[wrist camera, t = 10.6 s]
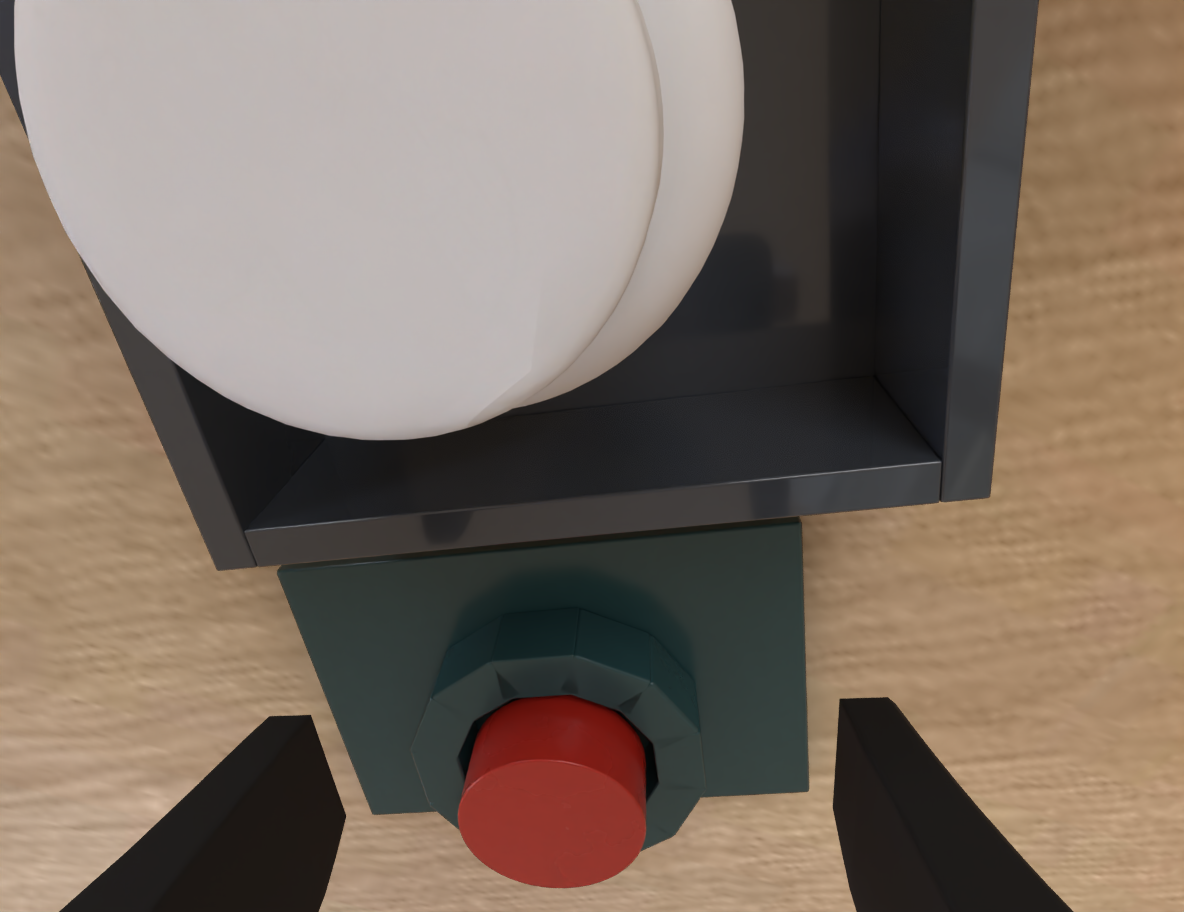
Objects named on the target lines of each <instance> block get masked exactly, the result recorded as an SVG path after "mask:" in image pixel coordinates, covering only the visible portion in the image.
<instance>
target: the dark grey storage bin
mask: <svg viewBox="0 0 1184 912" xmlns="http://www.w3.org/2000/svg"><path fill="white" fill-rule="evenodd" d="M731 1H732V5H733V9H734V12H735V17H736V23H737V29H738V34H739V40H740V46H741V53H742V60H743V73H744V125H743V136H742V145H741V152H740V158H739V165H738V170H737V175H736V180H735V184H734V189H733V193H732V197H731V200H730V203H729V206H728V209H727V212H726V215H725V218H724V221H723V223H722V226H721V228H720V231H719V233H718V236H717V238H716V241H715V243H714V246H713V248H712V250H711V252H710V254H709V256H708V258H707V260H706V261H705V263H704V265H703V267H702V269H701V271H700V273H699V274H698V276H697V277H696V279H695V280H694V282H693V284H692V285H691V287H690V288H689V290H688V291H687V293H686V294H685V296H684V297H683V299H682V300H681V302H680V303H679V305H678V306H677V307H676V309H675V310H674V311H673V312H672V314H671V315H670V316H669V317H668V319H667V320H666V321H665V322H664V324H663V325H662V326H661V327H660V328H659V329H657V330H656V331H655V332H654V333H653V334H652V335H651V336H650V337H649V338H648V339H647V340H646V341H645V342H644V343H642V344H641V345H640V346H639V347H638V348H637V349H636V350H635V351H634V352H633V353H631V354H630V355H629V356H627V357H626V358H625V359H623V360H622V361H621V362H620V363H618V364H617V365H615V366H614V367H612V368H611V369H609V370H608V371H606V372H604V373H603V374H601V375H600V376H598V377H596V378H594V379H592V380H591V381H589V382H587V383H585V384H583V385H581V386H579V387H577V388H575V389H573V390H571V391H569V392H566V393H563V394H561V395H558V396H556V397H553V398H550V399H547V400H544V401H541V402H538V403H534V404H531V405H527V406H522V407H517V408H512V409H511V410H509V411H507V412H505V413H503V414H500V415H498V416H496V417H494V418H492V419H489V420H487V421H485V422H483V423H480V424H478V425H475V426H472V427H469V428H466V429H462V430H458V431H454V432H450V433H446V434H442V435H438V436H432V437H424V438H416V439H407V440H360V439H353V438H346V437H337V436H329V435H325V434H321V433H317V432H313V431H309V430H305V429H301V428H297V427H294V426H290V425H287V424H284V423H282V422H279V421H277V420H274V419H272V418H270V417H267V416H265V415H262V414H260V413H257V412H255V411H252V410H250V409H248V408H246V407H244V406H242V405H240V404H238V403H236V402H234V401H232V400H230V399H228V398H226V397H224V396H223V395H221V394H219V393H218V392H216V391H215V390H213V389H212V388H210V387H209V386H207V385H205V384H204V383H202V382H201V381H199V380H198V379H196V378H195V377H193V376H192V375H191V374H189V373H188V372H187V371H185V370H184V369H183V368H181V367H180V366H179V365H177V364H176V363H175V362H173V361H172V360H171V359H169V358H168V357H167V356H166V355H165V354H164V353H163V352H161V351H160V350H159V349H158V348H157V347H156V346H155V345H154V344H153V343H152V342H150V341H149V340H148V339H147V338H146V337H145V336H144V335H143V334H142V333H140V332H139V331H138V330H137V329H136V328H135V327H134V326H133V324H132V323H131V322H130V321H129V320H128V318H127V317H126V316H125V315H124V314H123V313H122V311H121V310H120V309H119V308H118V307H117V306H116V304H115V303H114V302H113V301H112V300H111V298H110V297H109V296H108V295H107V294H106V293H105V291H104V290H103V288H102V287H101V286H100V284H99V283H98V281H97V280H96V278H95V277H94V275H93V274H92V272H91V271H90V269H89V268H88V266H87V265H86V263H85V262H84V260H83V259H82V257H81V256H80V254H79V253H78V254H79V256H80V258H81V261H82V263H83V265H84V267H85V270H86V272H87V274H88V277H89V279H90V281H91V283H92V286H93V288H94V290H95V293H96V295H97V297H98V299H99V302H100V304H101V306H102V309H103V311H104V313H105V315H106V318H107V320H108V322H109V325H110V327H111V329H112V331H113V334H114V336H115V338H116V341H117V343H118V345H119V347H120V350H121V352H122V354H123V357H124V359H125V361H126V363H127V366H128V368H129V370H130V373H131V375H132V377H133V379H134V382H135V384H136V386H137V389H138V391H139V393H140V395H141V398H142V400H143V402H144V405H145V407H146V409H147V411H148V414H149V416H150V418H151V421H152V423H153V425H154V427H155V430H156V432H157V434H158V437H159V439H160V441H161V443H162V446H163V448H164V450H165V453H166V455H167V457H168V459H169V462H170V464H171V466H172V469H173V471H174V473H175V475H176V478H177V480H178V482H179V485H180V487H181V489H182V491H183V494H184V496H185V498H186V501H187V503H188V505H189V507H190V510H191V512H192V514H193V517H194V519H195V521H196V523H197V526H198V528H199V530H200V533H201V535H202V537H203V539H204V542H205V544H206V546H207V549H208V551H209V553H210V555H211V558H212V560H213V562H214V565H215V567H216V569H217V570H218V571H223V570H233V569H244V568H255V567H257V566H258V567H265V566H276V565H286V564H297V563H308V562H318V561H329V560H340V559H350V558H361V557H371V556H382V555H393V554H403V553H414V552H424V551H435V550H446V549H456V548H467V547H477V546H488V545H499V544H509V543H520V542H531V541H541V540H552V539H562V538H573V537H584V536H594V535H605V534H615V533H626V532H637V531H647V530H658V529H668V528H679V527H690V526H700V525H711V524H722V523H732V522H743V521H753V520H764V519H775V518H785V517H796V516H806V515H817V514H828V513H838V512H849V511H859V510H870V509H881V508H891V507H902V506H912V505H923V504H934V503H939V501H941V502H953V501H963V500H974V499H985V498H989V497H990V493H991V483H992V473H993V463H994V453H995V442H996V432H997V422H998V412H999V402H1000V391H1001V381H1002V371H1003V361H1004V351H1005V340H1006V330H1007V320H1008V310H1009V300H1010V289H1011V279H1012V269H1013V259H1014V249H1015V238H1016V228H1017V218H1018V208H1019V198H1020V188H1021V177H1022V167H1023V157H1024V147H1025V137H1026V126H1027V116H1028V106H1029V96H1030V86H1031V75H1032V65H1033V55H1034V45H1035V35H1036V24H1037V14H1038V4H1039V0H731ZM14 5H15V0H0V75H1V78H2V80H3V82H4V85H5V87H6V89H7V91H8V94H9V96H10V98H11V101H12V103H13V105H14V107H15V110H16V112H17V114H18V117H19V119H20V121H21V123H22V126H23V128H24V130H25V133H26V135H27V137H28V134H27V130H26V125H25V121H24V116H23V112H22V107H21V103H20V98H19V90H18V82H17V74H16V65H15V49H14ZM28 139H29V138H28Z"/></svg>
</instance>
